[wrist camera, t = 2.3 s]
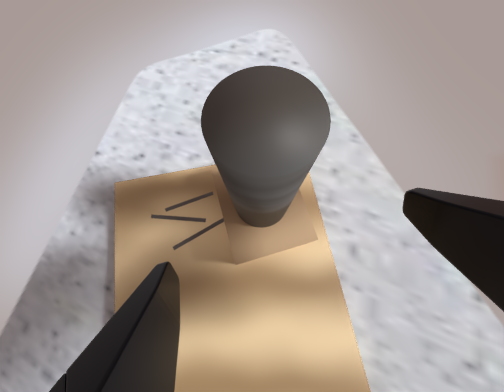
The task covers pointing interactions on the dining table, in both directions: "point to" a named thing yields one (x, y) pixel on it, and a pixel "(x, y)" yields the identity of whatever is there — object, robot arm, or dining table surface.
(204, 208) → the pine board
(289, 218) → the rubber stamp
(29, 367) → the dining table surface
